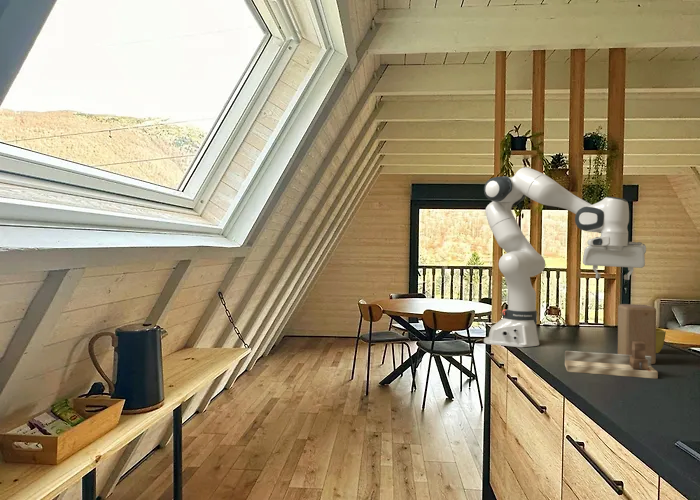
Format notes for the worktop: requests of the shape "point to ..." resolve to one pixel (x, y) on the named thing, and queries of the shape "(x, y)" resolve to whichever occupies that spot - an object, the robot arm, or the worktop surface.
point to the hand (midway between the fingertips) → (612, 279)
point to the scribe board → (606, 364)
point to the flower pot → (659, 339)
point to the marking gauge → (638, 356)
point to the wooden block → (637, 328)
